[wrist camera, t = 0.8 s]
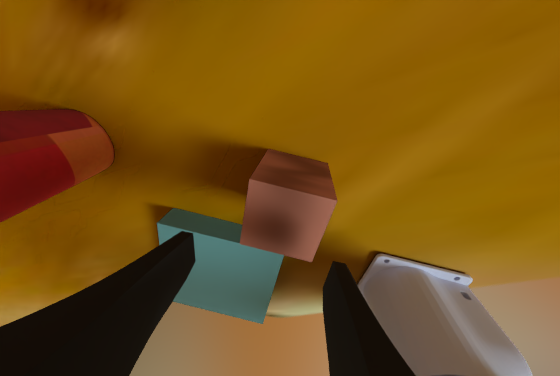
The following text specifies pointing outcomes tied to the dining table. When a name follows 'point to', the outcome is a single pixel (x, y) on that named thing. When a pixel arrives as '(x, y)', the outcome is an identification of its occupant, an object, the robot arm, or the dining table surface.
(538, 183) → the dining table surface
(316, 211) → the red wood block
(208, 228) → the teal base board
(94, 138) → the paper cup
